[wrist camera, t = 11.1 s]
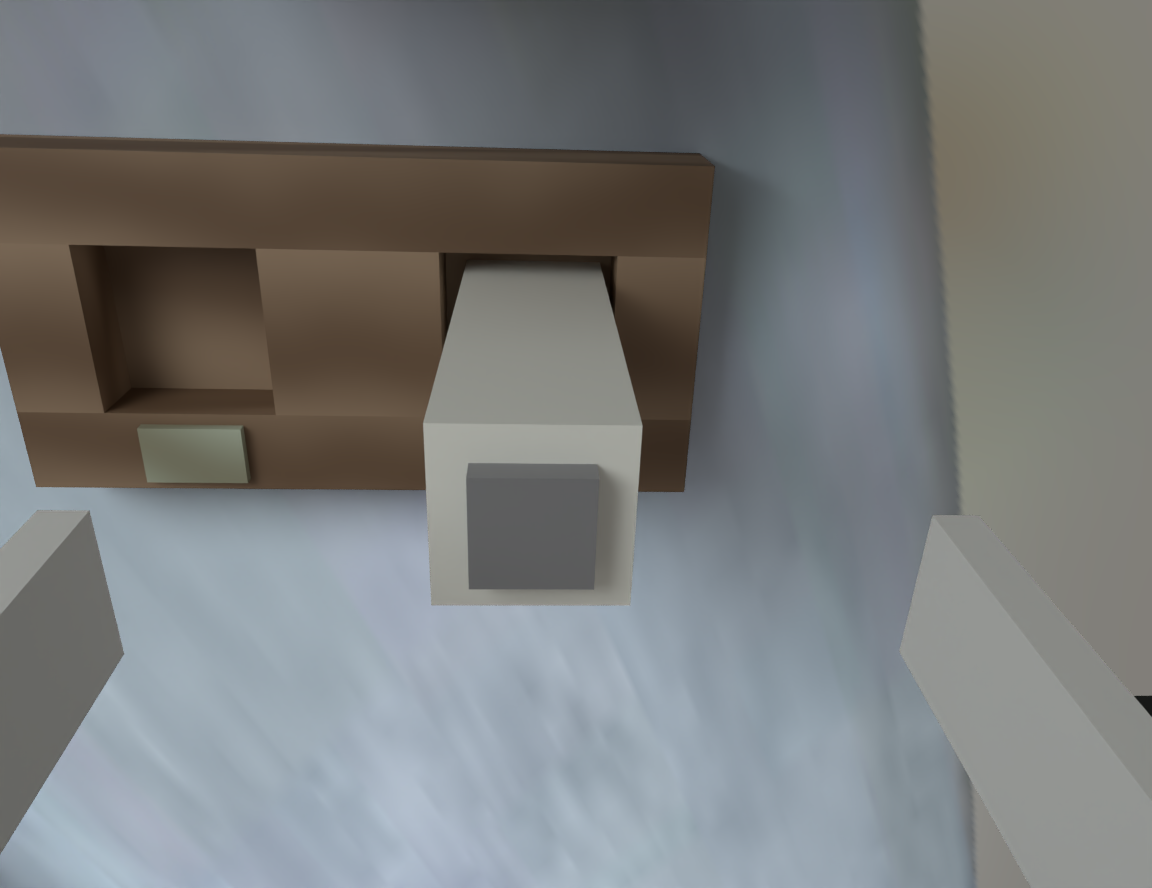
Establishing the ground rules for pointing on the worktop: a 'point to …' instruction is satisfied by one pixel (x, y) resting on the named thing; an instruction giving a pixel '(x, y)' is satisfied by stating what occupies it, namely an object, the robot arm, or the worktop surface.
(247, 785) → the worktop surface
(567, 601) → the plug
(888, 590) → the worktop surface
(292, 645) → the worktop surface
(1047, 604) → the robot arm
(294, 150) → the socket board
